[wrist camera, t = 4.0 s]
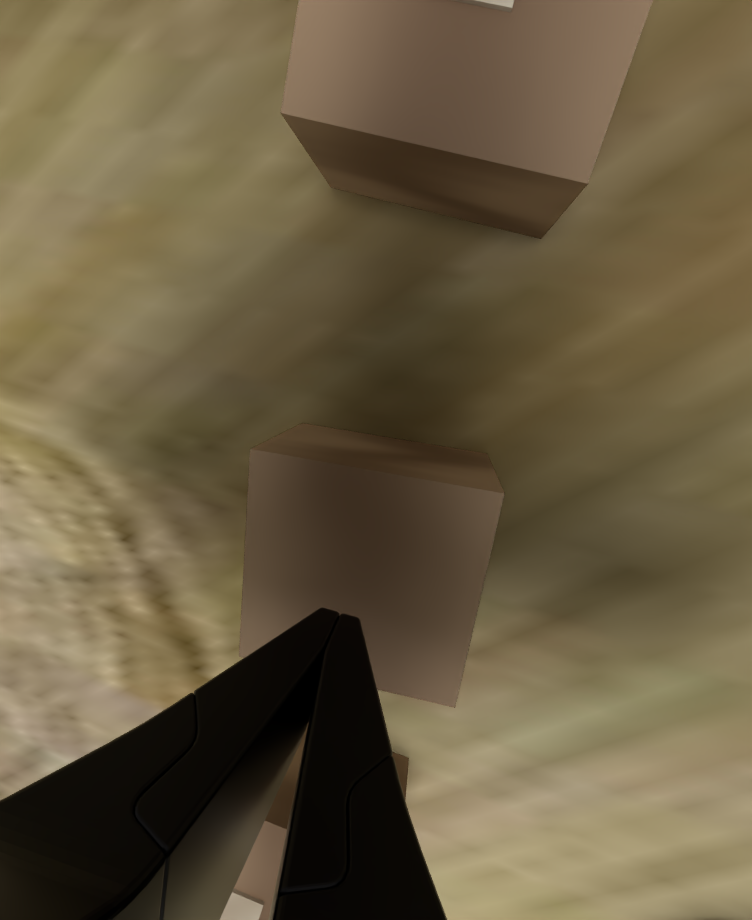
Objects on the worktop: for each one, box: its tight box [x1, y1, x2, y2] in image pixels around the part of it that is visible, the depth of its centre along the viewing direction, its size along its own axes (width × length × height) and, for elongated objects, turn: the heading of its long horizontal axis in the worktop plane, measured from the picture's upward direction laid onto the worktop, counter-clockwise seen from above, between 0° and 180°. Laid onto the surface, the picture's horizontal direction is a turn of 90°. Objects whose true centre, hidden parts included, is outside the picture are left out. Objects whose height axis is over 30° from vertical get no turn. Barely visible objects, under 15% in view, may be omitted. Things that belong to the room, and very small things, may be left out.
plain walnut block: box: [239, 423, 505, 708], centre depth 12 cm, size 6×6×4 cm
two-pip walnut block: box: [220, 725, 409, 920], centre depth 16 cm, size 6×6×4 cm
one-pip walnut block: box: [281, 0, 653, 239], centre depth 9 cm, size 6×6×4 cm
